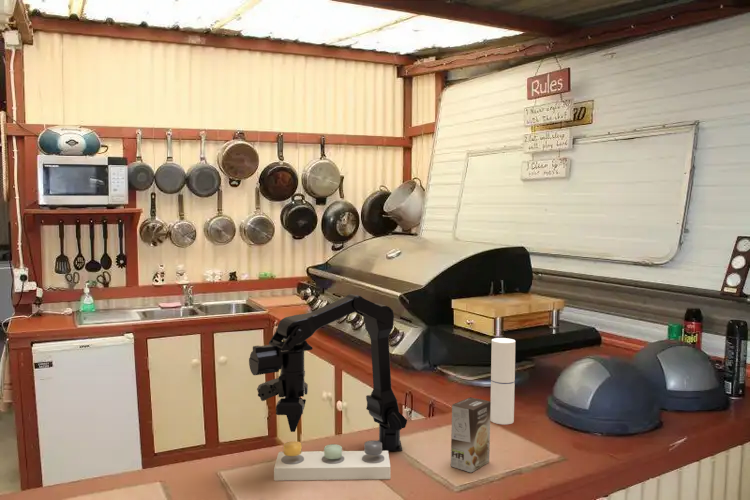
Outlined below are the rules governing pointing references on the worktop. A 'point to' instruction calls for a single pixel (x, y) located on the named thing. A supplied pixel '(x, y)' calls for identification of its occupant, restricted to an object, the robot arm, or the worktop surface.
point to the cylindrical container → (502, 380)
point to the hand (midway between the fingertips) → (292, 431)
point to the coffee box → (470, 434)
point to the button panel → (332, 466)
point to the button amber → (292, 448)
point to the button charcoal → (373, 447)
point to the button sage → (332, 451)
